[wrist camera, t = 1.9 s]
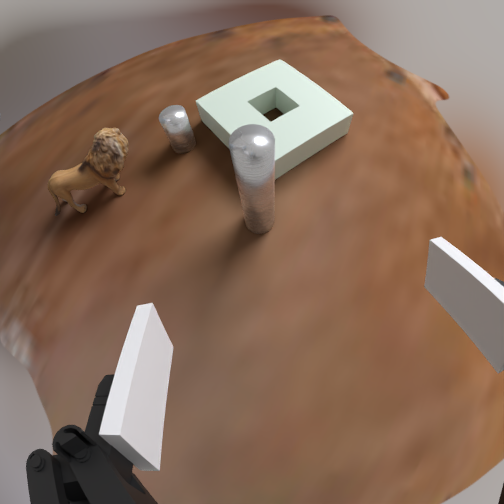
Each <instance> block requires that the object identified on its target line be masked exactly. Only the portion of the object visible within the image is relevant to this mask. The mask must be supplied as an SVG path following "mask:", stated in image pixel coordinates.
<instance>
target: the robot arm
mask: <svg viewBox="0 0 504 504" xmlns="http://www.w3.org/2000/svg"><path fill="white" fill-rule="evenodd" d="M424 287H425V288H426V289H427V290H428V291H429V292H430V293H431V295H432V296H433V297H434V298H435V299H436V300H437V301H438V302H439V303H440V304H441V305H442V307H443V308H444V309H445V310H446V311H447V312H448V313H449V314H450V316H451V317H452V318H453V319H454V320H455V321H456V322H457V324H458V325H459V326H460V327H461V328H462V329H463V331H464V332H465V333H466V334H467V335H468V336H469V338H470V339H471V340H472V341H473V342H474V344H475V345H476V346H477V347H478V349H479V350H480V351H481V352H482V354H483V355H484V356H485V357H486V359H487V360H488V361H489V362H490V364H491V365H492V366H493V368H494V369H495V370H496V372H497V373H500V372H501V371H503V370H504V282H503V281H501V280H499V279H497V278H495V279H494V278H493V277H492V276H490V275H489V274H488V273H487V272H486V271H484V270H483V269H482V268H481V267H480V266H478V265H477V264H476V263H475V262H473V261H472V260H471V259H470V258H468V257H467V256H466V255H465V254H463V253H462V252H461V251H459V250H458V249H457V248H455V247H454V246H453V245H451V244H450V243H449V242H447V241H446V240H445V239H443V238H442V237H439V238H435V239H431V240H430V242H429V253H428V263H427V271H426V279H425V286H424ZM172 354H173V345H172V343H171V341H170V339H169V337H168V335H167V333H166V331H165V329H164V327H163V325H162V322H161V320H160V318H159V316H158V314H157V312H156V309H155V307H154V305H153V303H149V304H144V305H138V306H137V308H136V311H135V314H134V316H133V319H132V322H131V325H130V328H129V331H128V334H127V337H126V340H125V343H124V346H123V349H122V353H121V356H120V359H119V362H118V365H117V369H116V372H115V374H114V375H106V376H105V377H104V378H103V380H102V381H101V382H100V384H99V385H98V389H97V392H96V395H95V396H96V398H94V402H93V406H92V408H91V412H90V415H89V419H88V422H87V426H86V430H85V432H84V431H83V430H82V429H81V428H80V427H78V426H75V425H67V426H65V427H63V428H61V429H60V430H59V431H58V432H57V433H56V435H55V437H54V439H53V444H52V445H53V450H54V451H55V452H56V453H57V455H53V456H52V455H51V454H50V453H49V452H47V451H46V450H43V449H37V450H35V451H33V452H32V453H31V454H30V455H29V457H28V459H27V463H26V471H27V479H28V488H29V495H30V502H31V504H158V503H157V502H156V501H155V500H154V498H153V497H152V496H151V495H150V494H149V492H148V491H147V490H146V489H145V487H144V486H143V485H142V483H141V482H140V481H139V479H138V478H137V477H136V475H134V474H133V473H132V468H133V465H134V466H136V467H137V468H138V469H140V470H146V471H160V459H161V447H162V436H163V426H164V416H165V408H166V399H167V391H168V383H169V375H170V368H171V361H172ZM498 504H504V484H503V488H502V492H501V496H500V499H499V503H498Z"/></svg>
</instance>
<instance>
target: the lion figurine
mask: <svg viewBox="0 0 504 504" xmlns="http://www.w3.org/2000/svg"><path fill="white" fill-rule="evenodd" d="M94 138H95V140H94V141H93V145H92V147H91V148H90V150H89V152H88V154H87V156H86V157H85V159H84V161H83V162H82V163H81V164H79V165H77V166H75V167H73V168H71V169H68V170H59V171H57V172H55V173H54V174H53V175H52V176H51V178H50V179H49V181H48V190H49V192H50V193H51V195H52V196H53V198H54V200H55V202H56V206H57V208H56V213H55V216H57V215H59V213H60V204H59V200H58V198H57V196H58V197H60V198H61V199H62V200H63V201H66V202H68V203H69V205H70V206H71V207H73V208H75V209H76V210H78V211H79V212H81V213H84V212H85V211H86V210H87V206H86V205H85V204H82V205H79V204H76V203H75V202H74V200H73V197H72V195H71V193H70V191H71V190H86V189H90V188H92V187H94V186H96V185H98V184H99V183H101V184H104V185H106V186H107V187H108V188H110V189H111V190H112V191H113V192H115V193H116V194H118V195H123V194H124V193H125V187H120V186H119V185H117V183H116V182H115V181H117V180H118V179H119V177H120V175H119V174H118V173H119V172H121V171H122V170H123V168H124V161H125V159H126V156H127V153H128V140H127V139H126V138H125V137H124V136H123V135H122V134H121V133H120V131H119V129H117V128H113V129H112V128H111V129H109V128H103V129H102V130H101V131H99V132H98V133H96V135H95V136H94ZM56 195H57V196H56Z"/></svg>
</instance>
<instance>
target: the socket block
mask: <svg viewBox="0 0 504 504" xmlns="http://www.w3.org/2000/svg"><path fill="white" fill-rule="evenodd" d="M196 104H197V107H198V110H199V114H200V117H201V120H202V122H203V123H204V124H205V125H206V126H207V127H208V128H209V129H210V130H211V131H212V132H213V133H214V134H215V135H216V136H217V137H218V138H219V139H220V140H221V141H222V142H223V143H224V144H225V145H226V146H227V147H228V148H229V138H230V136H231V134H232V133H233V132H234V131H235V130H236V129H238V128H239V127H241V126H244V125H248V124H257V125H262V126H264V127H266V128H268V129H269V130H270V131H271V132H272V133H273V135H274V138H275V180H276V179H277V178H279V177H280V176H282V175H283V174H285V173H286V172H288V171H289V170H291V169H292V168H294V167H295V166H297V165H298V164H300V163H301V162H303V161H304V160H306V159H307V158H309V157H310V156H312V155H314V154H315V153H317V152H318V151H320V150H321V149H323V148H325V147H326V146H328V145H329V144H331V143H332V142H334V141H336V140H337V139H339V138H340V137H342V136H344V135H345V134H347V133H348V130H349V127H350V123H351V120H352V117H353V112H351V111H350V110H349V109H348V108H347V107H345V106H344V105H343V104H342V103H340V102H339V101H338V100H337V99H335V98H334V97H333V96H331V95H330V94H329V93H327V92H326V91H325V90H324V89H322V88H321V87H319V86H318V85H317V84H315V83H314V82H313V81H311V80H310V79H308V78H307V77H306V76H304V75H303V74H301V73H300V72H298V71H297V70H296V69H294V68H293V67H291V66H290V65H288V64H287V63H285V62H284V61H282V60H277V61H275V62H272V63H270V64H268V65H266V66H263V67H261V68H259V69H257V70H255V71H252V72H250V73H248V74H246V75H244V76H242V77H240V78H238V79H236V80H234V81H232V82H230V83H228V84H226V85H224V86H222V87H220V88H218V89H216V90H215V91H213V92H211V93H209V94H207V95H205V96H204V97H202V98H200V99H198V100H196ZM274 108H277V109H279V110H280V111H281V112H282V113H283V114H284V115H282V116H280V117H278V118H277V119H275V120H273V121H271V122H270V121H269V120H268V119H267V118H266V117H264V116H263V114H265V113H267V112H268V111H270V110H272V109H274ZM229 149H230V148H229Z"/></svg>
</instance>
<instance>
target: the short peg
mask: <svg viewBox="0 0 504 504" xmlns="http://www.w3.org/2000/svg"><path fill="white" fill-rule="evenodd" d="M159 120H160V123H161V125H162V127H163V129H164V131H165V133H166V135H167V137H168V140H169V142H170V144H171V146H172V148H173V150H174V151H175V152H176V153H179V154H184V153H187V152H189V151H191V150H192V149H193V148H194V147H195V144H196V140H195V137H194V134H193V131H192V129H191V126H190V123H189V120H188V117H187V115H186V112H185V109H184V108H183V107H182V106H180V105H172V106H169V107H167V108H165V109H164V110H163V111H162V112H161V113H160V115H159Z"/></svg>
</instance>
